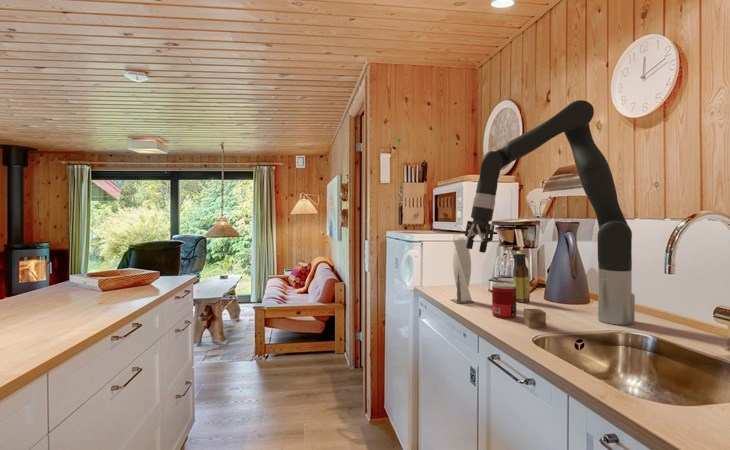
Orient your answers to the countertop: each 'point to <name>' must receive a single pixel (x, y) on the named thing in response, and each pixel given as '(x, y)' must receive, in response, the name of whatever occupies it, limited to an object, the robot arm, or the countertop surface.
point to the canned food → (504, 300)
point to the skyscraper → (461, 270)
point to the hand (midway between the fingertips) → (475, 250)
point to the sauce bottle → (521, 278)
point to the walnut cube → (535, 318)
